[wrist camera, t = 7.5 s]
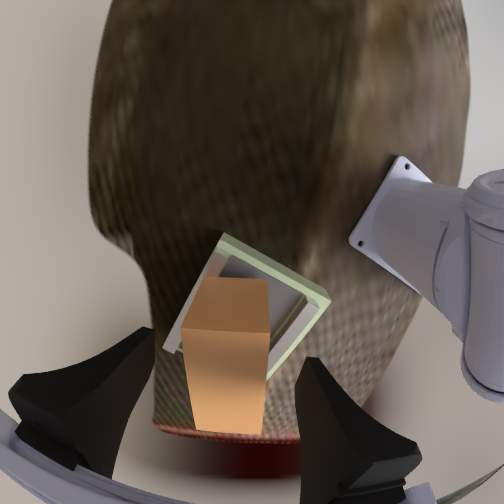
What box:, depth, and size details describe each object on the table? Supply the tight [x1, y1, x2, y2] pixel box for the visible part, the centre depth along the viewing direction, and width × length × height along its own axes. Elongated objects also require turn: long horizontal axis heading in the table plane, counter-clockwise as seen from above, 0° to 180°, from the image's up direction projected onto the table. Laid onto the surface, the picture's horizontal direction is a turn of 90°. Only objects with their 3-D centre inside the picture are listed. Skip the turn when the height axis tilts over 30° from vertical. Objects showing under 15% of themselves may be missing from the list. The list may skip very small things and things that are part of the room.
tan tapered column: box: [180, 276, 270, 434], centre depth 16 cm, size 4×9×6 cm, turn 178°
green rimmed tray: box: [162, 232, 331, 381], centre depth 20 cm, size 9×10×3 cm
